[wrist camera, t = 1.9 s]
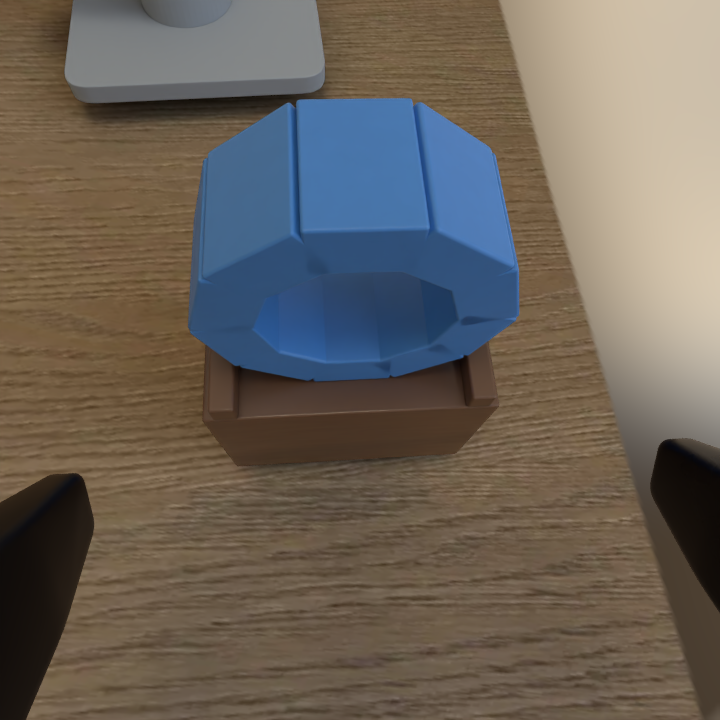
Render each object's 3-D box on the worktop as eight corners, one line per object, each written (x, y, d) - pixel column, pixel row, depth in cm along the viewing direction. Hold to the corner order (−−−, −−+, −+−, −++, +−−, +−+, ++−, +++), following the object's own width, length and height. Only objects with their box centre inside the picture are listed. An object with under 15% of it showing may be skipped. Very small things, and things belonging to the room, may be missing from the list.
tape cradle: (456, 454, 21) (509, 397, 15) (236, 466, 21) (194, 413, 14) (440, 336, 23) (481, 242, 17) (238, 345, 23) (202, 251, 16)
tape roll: (479, 374, 16) (583, 224, 9) (219, 386, 16) (136, 236, 9) (465, 285, 17) (549, 94, 11) (222, 293, 17) (150, 99, 10)
